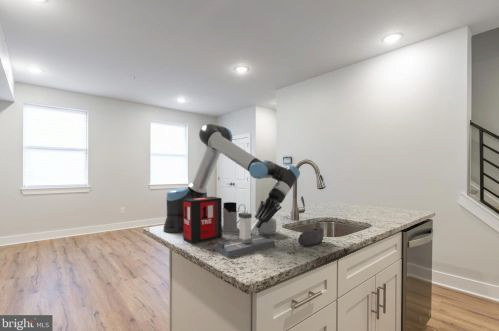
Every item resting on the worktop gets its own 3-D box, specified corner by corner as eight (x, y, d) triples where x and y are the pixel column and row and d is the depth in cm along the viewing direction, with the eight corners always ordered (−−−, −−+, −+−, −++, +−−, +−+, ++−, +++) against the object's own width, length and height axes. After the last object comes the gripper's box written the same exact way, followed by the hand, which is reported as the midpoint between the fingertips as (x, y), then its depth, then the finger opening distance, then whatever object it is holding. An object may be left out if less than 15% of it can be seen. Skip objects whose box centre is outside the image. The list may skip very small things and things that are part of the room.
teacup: (273, 237, 123) (273, 221, 123) (253, 236, 127) (253, 220, 127) (279, 231, 136) (279, 216, 137) (260, 229, 140) (260, 215, 140)
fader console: (213, 249, 106) (213, 239, 106) (258, 239, 120) (258, 230, 120) (227, 257, 96) (227, 246, 96) (274, 246, 110) (274, 236, 110)
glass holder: (220, 228, 143) (220, 202, 143) (242, 225, 150) (242, 201, 150) (225, 231, 135) (225, 204, 135) (248, 228, 142) (248, 202, 142)
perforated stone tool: (302, 249, 106) (302, 233, 106) (294, 245, 110) (294, 230, 110) (327, 243, 113) (327, 228, 113) (318, 240, 118) (318, 226, 118)
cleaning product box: (212, 234, 131) (212, 196, 131) (221, 237, 124) (221, 198, 124) (183, 240, 120) (183, 199, 121) (191, 244, 113) (191, 201, 114)
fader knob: (238, 240, 109) (238, 213, 109) (245, 239, 111) (245, 212, 111) (244, 243, 105) (244, 215, 105) (252, 241, 107) (251, 213, 107)
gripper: (292, 198, 115) (265, 241, 105) (274, 196, 125) (247, 234, 115) (284, 188, 112) (255, 230, 102) (266, 186, 122) (238, 225, 112)
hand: (251, 232), depth 109 cm, fingers closed
